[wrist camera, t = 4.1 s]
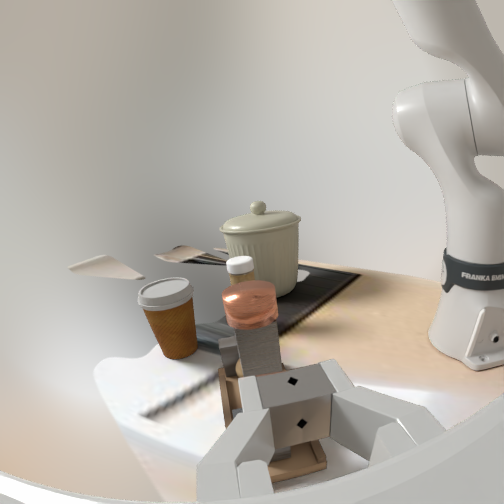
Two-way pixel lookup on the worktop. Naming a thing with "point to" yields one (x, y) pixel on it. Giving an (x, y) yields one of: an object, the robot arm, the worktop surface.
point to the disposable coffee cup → (171, 315)
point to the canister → (266, 244)
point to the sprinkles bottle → (240, 269)
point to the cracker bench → (302, 455)
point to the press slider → (255, 332)
